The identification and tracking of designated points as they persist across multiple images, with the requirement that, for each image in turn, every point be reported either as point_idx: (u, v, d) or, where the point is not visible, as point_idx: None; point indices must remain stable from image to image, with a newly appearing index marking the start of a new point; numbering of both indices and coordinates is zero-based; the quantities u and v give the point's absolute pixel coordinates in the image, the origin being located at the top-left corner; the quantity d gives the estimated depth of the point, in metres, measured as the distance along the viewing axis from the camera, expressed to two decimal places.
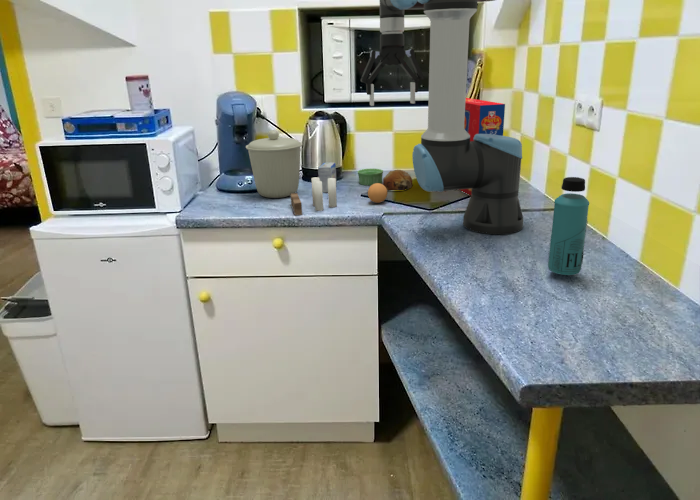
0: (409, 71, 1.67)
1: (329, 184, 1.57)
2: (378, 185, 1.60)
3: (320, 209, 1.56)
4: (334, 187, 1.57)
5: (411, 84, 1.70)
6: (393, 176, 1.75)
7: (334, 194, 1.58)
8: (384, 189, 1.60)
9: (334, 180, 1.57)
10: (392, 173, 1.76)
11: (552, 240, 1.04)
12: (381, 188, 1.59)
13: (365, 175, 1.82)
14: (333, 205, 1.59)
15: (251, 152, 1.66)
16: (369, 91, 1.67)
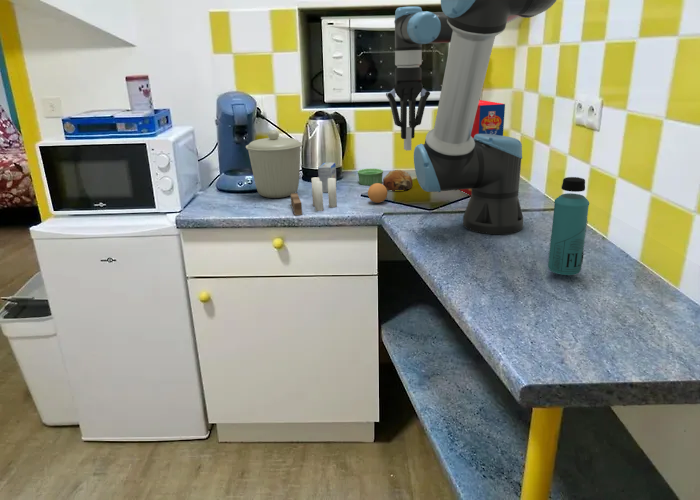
0: (412, 112, 1.54)
1: (329, 184, 1.57)
2: (378, 185, 1.60)
3: (320, 209, 1.56)
4: (334, 187, 1.57)
5: None
6: (393, 176, 1.75)
7: (334, 194, 1.58)
8: (384, 189, 1.60)
9: (334, 180, 1.57)
10: (392, 173, 1.76)
11: (552, 240, 1.04)
12: (381, 188, 1.59)
13: (365, 175, 1.82)
14: (333, 205, 1.59)
15: (251, 152, 1.66)
16: (404, 135, 1.57)
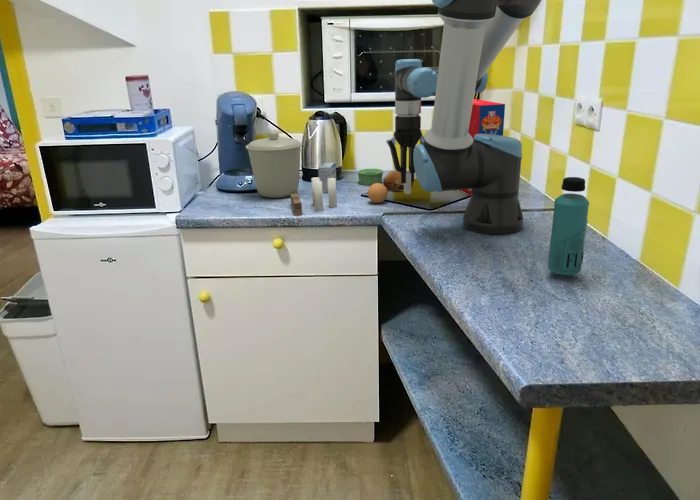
0: (412, 158, 1.59)
1: (329, 184, 1.57)
2: (378, 185, 1.60)
3: (320, 209, 1.56)
4: (334, 187, 1.57)
5: None
6: (393, 176, 1.75)
7: (334, 194, 1.58)
8: (384, 189, 1.60)
9: (334, 180, 1.57)
10: (392, 173, 1.76)
11: (552, 240, 1.04)
12: (381, 188, 1.59)
13: (365, 175, 1.82)
14: (333, 205, 1.59)
15: (251, 152, 1.66)
16: (404, 180, 1.61)
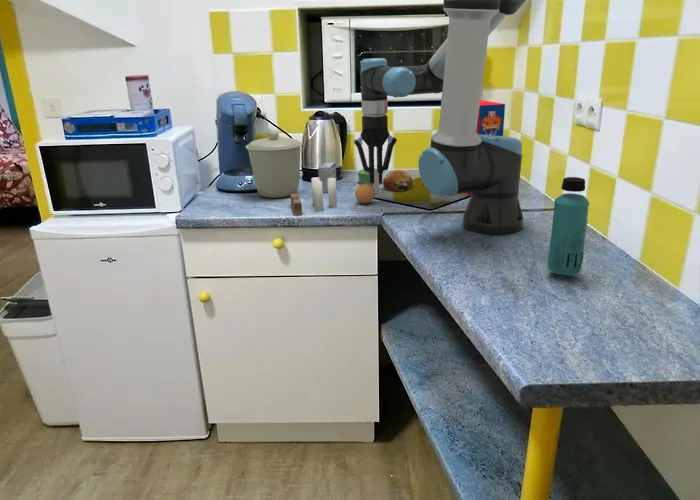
0: (379, 158, 1.58)
1: (329, 184, 1.57)
2: (358, 189, 1.59)
3: (320, 209, 1.56)
4: (334, 187, 1.57)
5: None
6: (393, 176, 1.75)
7: (334, 194, 1.58)
8: (365, 187, 1.59)
9: (334, 180, 1.57)
10: (392, 173, 1.76)
11: (552, 240, 1.04)
12: (362, 189, 1.59)
13: (365, 175, 1.82)
14: (333, 205, 1.59)
15: (251, 152, 1.66)
16: (372, 180, 1.61)
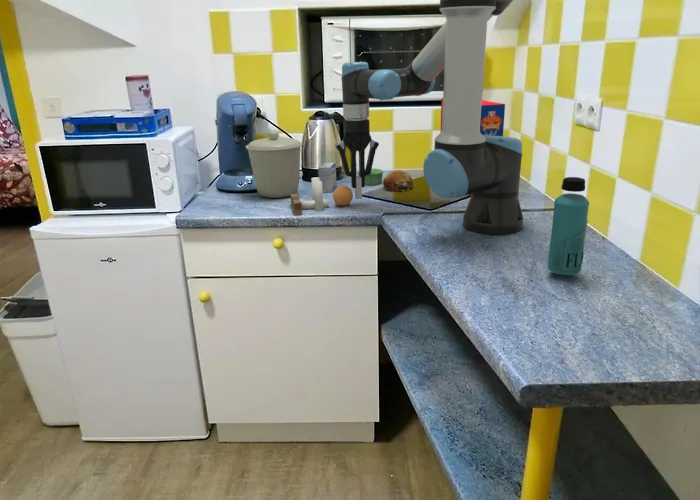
0: (362, 163, 1.56)
1: (305, 208, 1.58)
2: (341, 205, 1.60)
3: (320, 209, 1.56)
4: (308, 203, 1.58)
5: None
6: (393, 176, 1.75)
7: None
8: (337, 201, 1.58)
9: None
10: (392, 173, 1.76)
11: (552, 240, 1.04)
12: (339, 203, 1.59)
13: None
14: (326, 204, 1.58)
15: (251, 152, 1.66)
16: (354, 184, 1.59)
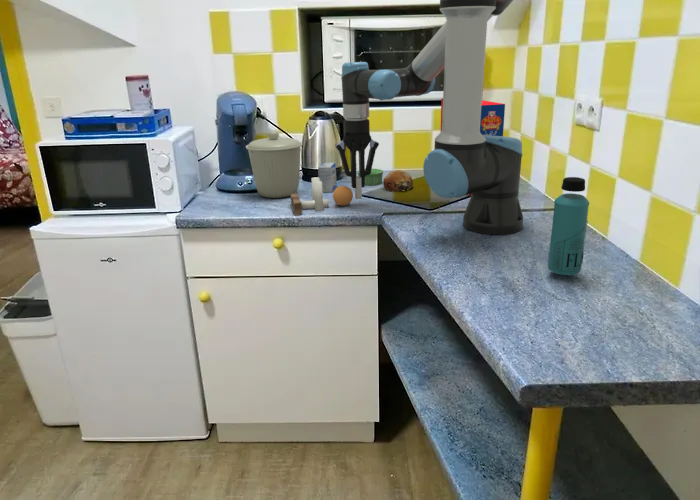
0: (362, 163, 1.56)
1: (305, 208, 1.58)
2: (341, 205, 1.60)
3: (320, 209, 1.56)
4: (308, 203, 1.58)
5: None
6: (393, 176, 1.75)
7: None
8: (337, 201, 1.58)
9: None
10: (392, 173, 1.76)
11: (552, 240, 1.04)
12: (339, 203, 1.59)
13: None
14: (326, 204, 1.58)
15: (251, 152, 1.66)
16: (354, 184, 1.59)
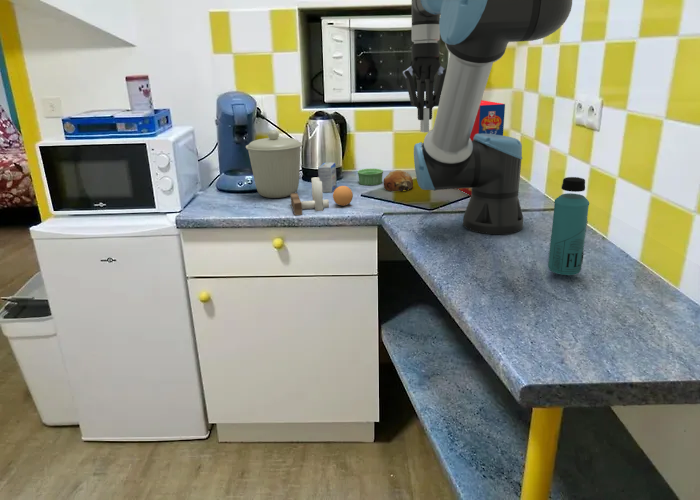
0: (430, 92, 1.46)
1: (305, 208, 1.58)
2: (341, 205, 1.60)
3: (320, 209, 1.56)
4: (308, 204, 1.57)
5: None
6: (393, 176, 1.74)
7: None
8: (337, 201, 1.58)
9: None
10: (393, 174, 1.75)
11: (552, 240, 1.04)
12: (339, 203, 1.59)
13: (365, 175, 1.82)
14: (327, 204, 1.58)
15: (251, 152, 1.66)
16: (421, 116, 1.48)
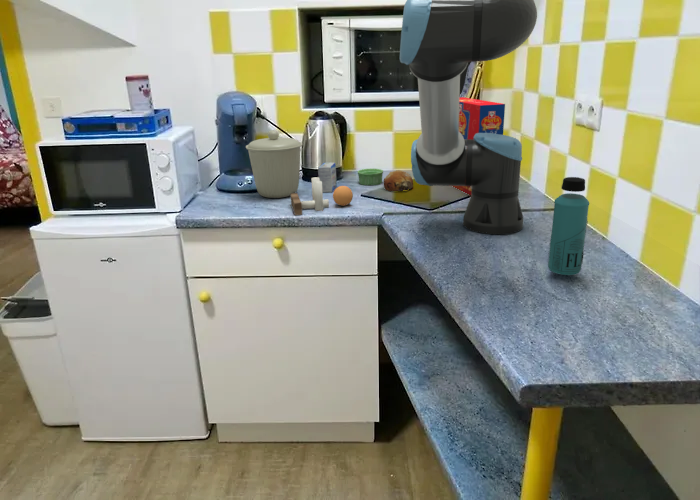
0: None
1: (305, 208, 1.58)
2: (341, 205, 1.60)
3: (320, 209, 1.56)
4: (308, 203, 1.58)
5: None
6: (393, 176, 1.74)
7: None
8: (337, 201, 1.58)
9: None
10: (393, 174, 1.75)
11: (552, 240, 1.04)
12: (339, 203, 1.59)
13: (365, 175, 1.82)
14: (326, 203, 1.58)
15: (251, 152, 1.66)
16: None
